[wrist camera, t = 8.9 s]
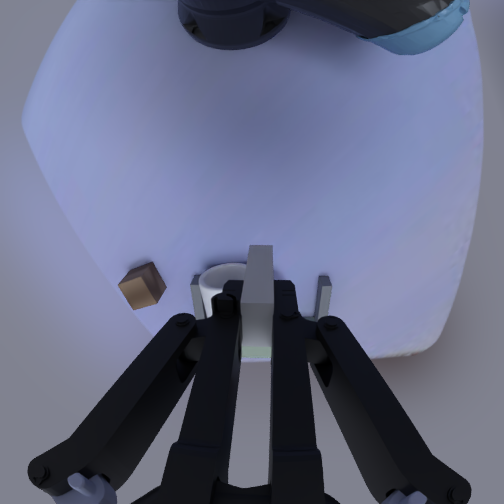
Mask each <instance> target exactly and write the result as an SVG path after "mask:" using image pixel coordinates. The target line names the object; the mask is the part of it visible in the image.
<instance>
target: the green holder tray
mask: <svg viewBox="0 0 504 504" xmlns="http://www.w3.org/2000/svg"><path fill="white" fill-rule="evenodd" d="M200 276H201V275H195V276H194V278H193V280H192V282H191V284H190V286H191V293H192V300H193V306H194V312H195V318H196V320H199V319H205V318H207V314H206V310H205V306H204V302H203V298H202V294H201V290H200V286H199V278H200ZM331 290H332V284H331V282H330V279H329V277H328V276H319V281H318V290H317V299H316V306H315V314H314V317H303V318H305V319H307V320H310V321H315V322H317V321H318V320H319V319H320V318H321V317H324V316H328V310H329V304H330V297H331ZM271 349H272V347H250V346H242V357H247V358H271Z"/></svg>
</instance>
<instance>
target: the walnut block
mask: <svg viewBox="0 0 504 504" xmlns="http://www.w3.org/2000/svg"><path fill="white" fill-rule="evenodd" d="M118 286H119V288H120V290H121V291H122V293H123V295H124V296H125V298H126V299H127V301H128V303H129V304H130V306H131V307H132V309H133V310H136V309H140V308H143V307H147V306H151V305H154V304H157V303H158V301H159V299H160V298H161V296H162V294H163V293H164V291H165V289H166V288H167V287H166V285H165V283H164V281H163V280H162V278H161V276H160V274H159V272H158V271H157V269H156V267H155V265H154V263H153V262H151V263H148V264H146V265H143V266H140V267H138V268H135V269H133V270H130V271H129V272H128V274H127V275H126V276H125V277H124V278H123V279H122V280H121V282H120V283H119V284H118Z"/></svg>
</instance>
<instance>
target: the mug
mask: <svg viewBox="0 0 504 504" xmlns="http://www.w3.org/2000/svg"><path fill="white" fill-rule="evenodd" d="M245 271H246V264H242V263H225V264H220V265H217V266H214V267H212V268H210V269H208V270H206V271H205V272H204V273H203V274H202V275H201V276H200V278H199V286H200V290H201V294H202V298H203V302H204V306H205V310H206V314H207V318H208V317H211V316H212V306H211V298H212V297H213V296H214V295H216V294H218V293H221V292H222V290H223V286H224V284H225V283H226V282H227V281H228V280H244V277H245Z"/></svg>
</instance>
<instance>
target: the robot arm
mask: <svg viewBox="0 0 504 504" xmlns="http://www.w3.org/2000/svg"><path fill="white" fill-rule="evenodd" d="M469 5H470V2H469V0H178V15H179V19H180V22H181V24H182V26H183V27H184V28H185V30H186V31H187V32H188V33H189V34H190V35H191V36H192V37H193V38H194V39H195V40H197V41H198V42H200V43H202V44H204V45H206V46H209V47H212V48H216V49H223V50H238V49H245V48H250V47H253V46H256V45H259V44H262V43H264V42H266V41H268V40H269V39H271V38H272V37H274V36H275V35H276V34H277V33H279V32H280V31H281V29H282V28H283V27H284V25H285V24H286V22H287V20H288V18H289V14H290V9H291V10H294V11H297V12H300V13H303V14H306V15H309V16H312V17H315V18H317V19H320V20H322V21H325V22H327V23H330V24H332V25H335V26H337V27H339V28H342V29H344V30H346V31H348V32H350V33H352V34H354V35H356V37H357V38H359V39H361V40H364V41H369V42H372V43H374V44H376V45H378V46H380V47H382V48H384V49H386V50H388V51H390V52H392V53H395V54H398V55H416V54H420V53H423V52H426V51H428V50H431V49H432V48H434V47H436V46H438V45H439V44H441V43H442V42H443V41H445V40H446V39H447V38H449V37H450V36H451V35H452V34H453V33H454V32H455V31H456V30H457V29H458V27H459V26H460V25H461V23H462V22H463V20H464V19H463V17H462V16H463V15H464V14H466V13H467V12H468V9H469ZM211 306H212V316H211V317H208V318H205V319H199V320H196V318H195V317H194V316H193V315H191V314H189V313H180V314H176V315H174V316H173V317H171V318H170V319H169V320H168V322H167V323H166V324H165V325H164V326H163V327H162V328H161V330H160V331H159V332H158V333H157V334H156V335H155V337H154V338H153V339H152V340H151V341H150V343H149V344H148V345H147V346H146V347H145V348H144V349H143V350H142V352H141V353H140V354H139V355H138V356H137V357H136V359H135V360H134V361H133V362H132V363H131V364H130V366H129V367H128V368H127V369H126V370H125V372H124V373H123V374H122V375H121V376H120V377H119V379H118V380H117V381H116V382H115V383H114V385H113V386H112V387H111V388H110V390H108V392H107V393H106V394H105V395H104V397H103V398H102V399H101V400H100V401H99V402H98V404H97V405H96V406H95V407H94V409H93V410H92V411H91V412H90V413H89V415H88V416H87V417H86V418H85V420H84V421H83V422H82V423H81V424H80V425H79V427H78V428H77V429H76V431H75V432H74V433H73V434H72V435H71V436H70V438H68V439H67V440H65V441H64V442H62V443H60V444H58V445H57V446H55V447H53V448H52V449H50V450H48V451H46V452H45V453H43V454H41V455H39V456H38V457H36V458H34V459H33V460H32V461H31V462H30V464H29V466H28V476H29V479H30V481H31V482H32V483H33V484H34V485H35V486H37V487H38V488H39V489H41V490H43V491H44V492H46V493H48V494H49V495H51V496H52V498H53V499H54V501H55V502H56V504H117V496H116V492H115V491H116V490H118V489H119V488H120V487H121V486H122V485H123V484H124V483H125V482H126V481H127V480H128V478H129V477H130V476H131V474H132V473H133V471H134V470H135V468H136V467H137V465H138V464H139V462H140V461H141V459H142V457H143V456H144V454H145V453H146V451H147V450H148V448H149V447H150V445H151V443H152V442H153V440H154V439H155V437H156V436H157V434H158V432H159V431H160V429H161V428H162V426H163V424H164V423H165V421H166V420H167V418H168V417H169V415H170V413H171V412H172V410H173V409H174V407H175V406H176V404H177V402H178V401H179V399H180V397H181V396H182V394H183V393H184V391H185V389H186V388H187V386H188V385H189V383H190V382H191V380H192V378H193V377H194V375H195V378H194V382H193V386H192V389H191V393H190V397H189V400H188V404H187V408H186V412H185V416H184V420H183V424H182V428H181V432H180V435H179V439H178V441H177V442H175V443H173V444H172V446H171V448H170V451H169V455H168V458H167V462H166V466H165V470H164V474H163V478H162V482H161V485H160V486H158V487H156V488H155V489H153V490H151V491H150V492H148V493H147V494H145V495H144V496H142V497H140V498H139V499H137V500H136V501H134V502H132V503H131V504H340V503H339V502H338V501H337V500H335V499H334V498H333V497H331V496H330V495H328V494H326V493H324V481H323V467H322V458H321V453H320V450H319V449H317V445H316V435H315V423H314V415H313V404H312V395H311V386H310V378H309V369H308V362H310V366H311V368H312V370H313V372H314V374H315V376H316V378H317V381H318V382H319V385H320V387H321V389H322V391H323V393H324V395H325V398H326V400H327V402H328V404H329V406H330V408H331V410H332V412H333V415H334V417H335V419H336V421H337V423H338V425H339V427H340V429H341V432H342V434H343V436H344V438H345V440H346V442H347V444H348V446H349V449H350V451H351V453H352V455H353V457H354V459H355V461H356V464H357V466H358V468H359V470H360V472H361V474H362V477H363V479H364V481H365V483H366V485H367V487H368V489H369V491H370V492H371V494H372V495H373V497H374V498H375V499H376V501H377V502H378V503H379V504H467V503H468V501H469V499H470V497H471V486H470V484H469V483H468V481H467V480H466V479H464V478H463V477H462V476H460V475H459V474H457V473H456V472H455V471H453V470H452V469H451V468H449V467H448V466H447V465H445V464H444V463H443V462H441V461H440V460H438V459H437V458H436V457H435V456H433V455H432V453H431V452H430V450H429V449H428V447H427V445H426V444H425V442H424V441H423V439H422V437H421V436H420V434H419V433H418V431H417V430H416V428H415V426H414V425H413V423H412V422H411V420H410V418H409V417H408V416H407V414H406V412H405V411H404V409H403V408H402V406H401V405H400V403H399V402H398V400H397V398H396V397H395V396H394V394H393V392H392V391H391V389H390V388H389V387H388V385H387V383H386V382H385V380H384V379H383V377H382V376H381V375H380V373H379V372H378V370H377V369H376V367H375V366H374V364H373V363H372V361H371V360H370V358H369V357H368V356H367V354H366V353H365V351H364V350H363V348H362V347H361V346H360V344H359V343H358V341H357V340H356V338H355V337H354V336H353V334H352V333H351V331H350V330H349V328H348V327H347V326H346V324H345V323H344V322H343V321H342V320H341V319H340V318H338V317H335V316H324V317H321V318H320V319H319V320H318V321H317V322H315V321H310V320H307V319H305V318H303V317H302V316H301V314H300V312H299V311H298V305H297V298H296V291H295V285H294V284H293V283H292V282H291V281H290V280H273V245H250V246H249V253H248V259H247V265H246V271H245V277H244V280H228V281H227V282H226V283H225V284H224V286H223V290H222V292H221V293H218V294H216V295H214V296H213V297H212V298H211ZM242 346H250V347H272V349H271V407H270V446H269V474H268V484H267V485H262V486H257V487H250V488H239V487H236V486H233V485H229V484H228V468H229V459H230V450H231V442H232V433H233V425H234V417H235V408H236V400H237V391H238V382H239V374H240V365H241V357H242ZM195 373H196V374H195Z"/></svg>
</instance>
